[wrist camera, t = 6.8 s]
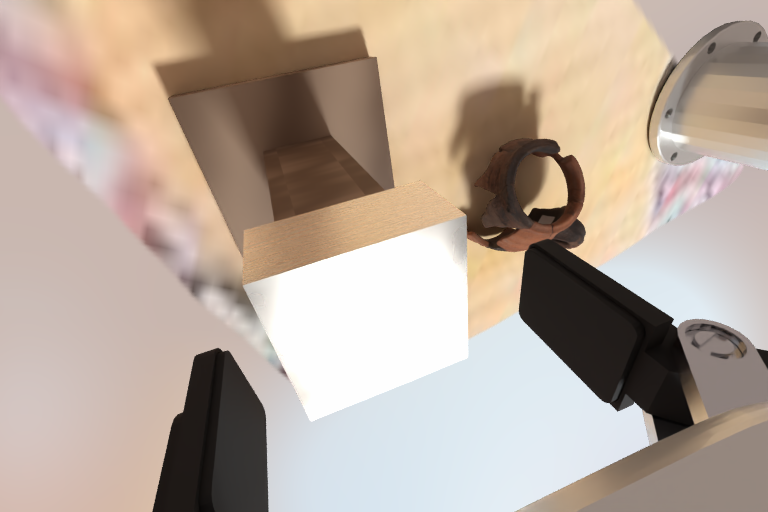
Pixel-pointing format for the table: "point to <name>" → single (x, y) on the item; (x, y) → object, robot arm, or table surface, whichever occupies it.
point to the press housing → (289, 141)
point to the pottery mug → (540, 222)
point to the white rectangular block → (362, 293)
